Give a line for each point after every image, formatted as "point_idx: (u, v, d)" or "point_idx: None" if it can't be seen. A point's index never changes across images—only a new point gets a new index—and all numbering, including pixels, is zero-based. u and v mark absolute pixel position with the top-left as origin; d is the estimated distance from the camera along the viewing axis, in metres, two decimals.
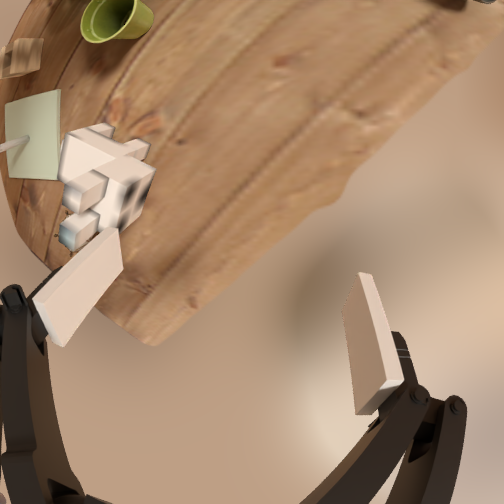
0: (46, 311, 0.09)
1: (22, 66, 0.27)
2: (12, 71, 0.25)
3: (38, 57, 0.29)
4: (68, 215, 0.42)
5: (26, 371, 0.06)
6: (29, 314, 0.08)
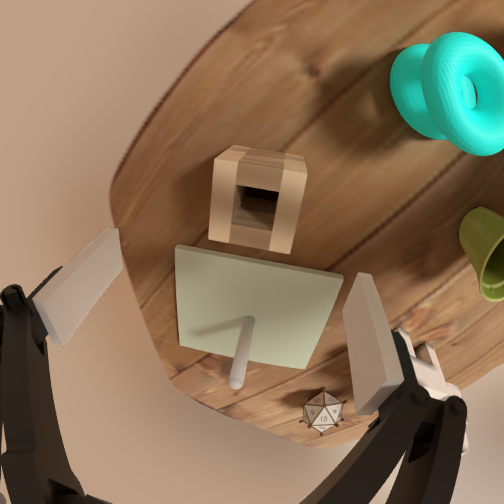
0: (46, 311, 0.09)
1: None
2: (280, 249, 0.23)
3: None
4: (326, 407, 0.39)
5: (26, 371, 0.06)
6: (29, 314, 0.08)
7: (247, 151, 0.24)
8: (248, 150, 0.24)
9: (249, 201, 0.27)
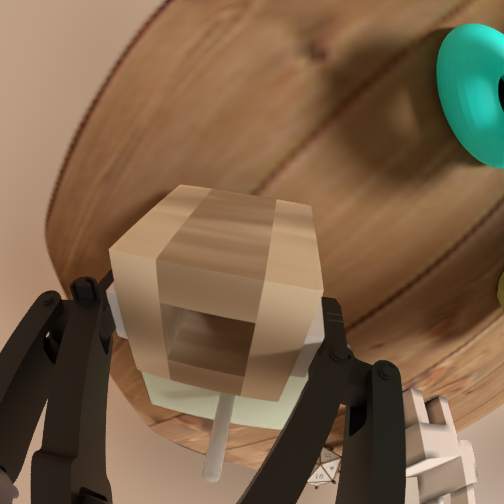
0: None
1: None
2: (261, 396, 0.12)
3: None
4: (322, 465, 0.30)
5: (85, 373, 0.07)
6: (100, 311, 0.09)
7: (198, 205, 0.12)
8: (202, 201, 0.13)
9: None
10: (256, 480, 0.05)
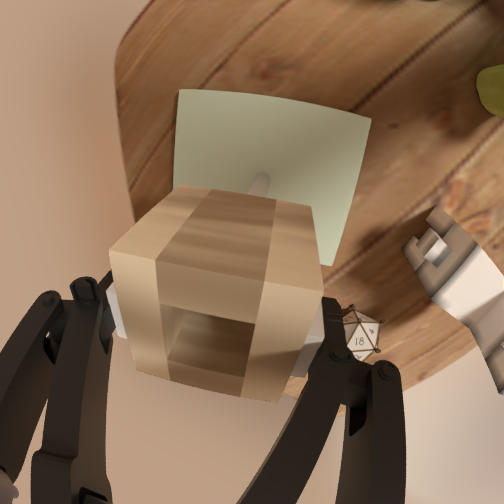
0: None
1: None
2: (261, 397, 0.12)
3: None
4: (361, 323, 0.32)
5: (85, 373, 0.07)
6: (100, 311, 0.09)
7: (198, 205, 0.12)
8: (202, 201, 0.13)
9: None
10: (256, 480, 0.05)
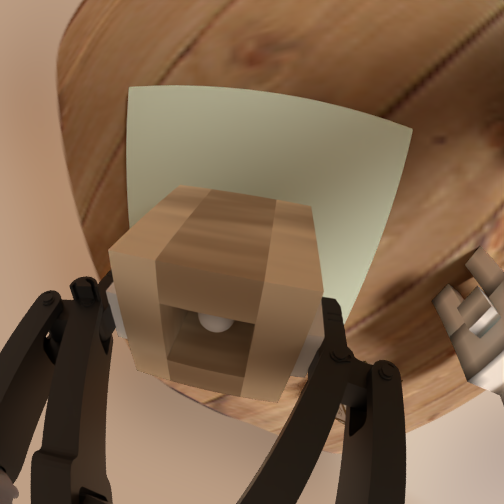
0: None
1: None
2: (261, 397, 0.12)
3: None
4: None
5: (85, 373, 0.07)
6: (100, 311, 0.09)
7: (198, 205, 0.12)
8: (202, 201, 0.13)
9: None
10: (256, 480, 0.05)
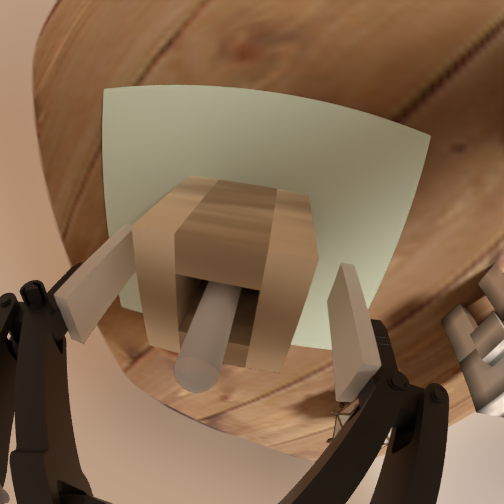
0: (68, 307, 0.09)
1: None
2: (264, 367, 0.13)
3: None
4: None
5: (43, 370, 0.06)
6: (50, 311, 0.09)
7: (208, 192, 0.14)
8: (211, 189, 0.14)
9: None
10: (298, 497, 0.05)
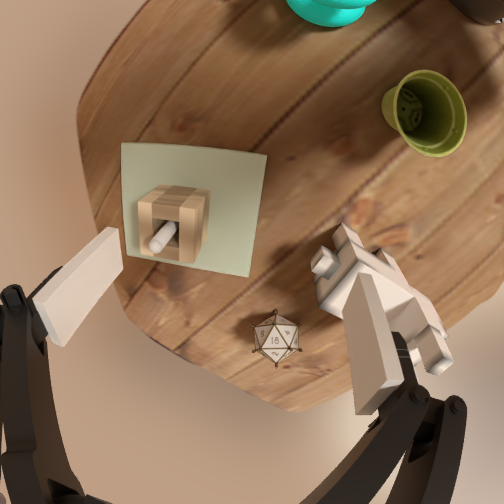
0: (46, 311, 0.09)
1: (198, 248, 0.34)
2: (186, 260, 0.33)
3: (207, 222, 0.37)
4: (276, 325, 0.41)
5: (26, 371, 0.06)
6: (29, 314, 0.08)
7: (166, 190, 0.33)
8: (168, 189, 0.34)
9: None
10: None
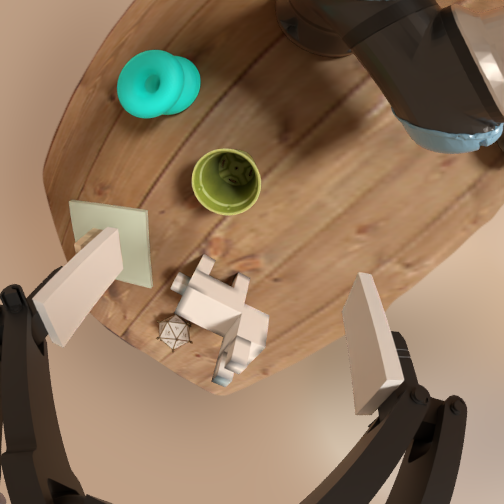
0: (46, 311, 0.09)
1: None
2: None
3: None
4: (168, 322, 0.57)
5: (26, 371, 0.06)
6: (29, 314, 0.08)
7: (93, 234, 0.49)
8: (94, 233, 0.50)
9: None
10: None
